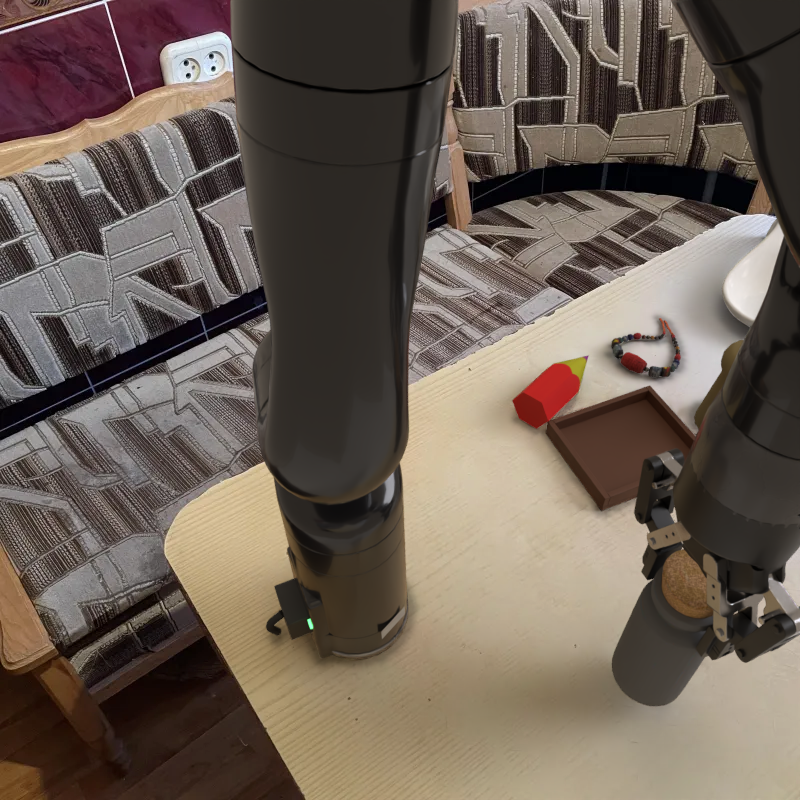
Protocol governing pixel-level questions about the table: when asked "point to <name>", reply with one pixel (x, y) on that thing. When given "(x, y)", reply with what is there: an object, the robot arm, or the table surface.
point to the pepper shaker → (718, 381)
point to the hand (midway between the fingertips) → (682, 609)
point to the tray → (617, 442)
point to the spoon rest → (752, 277)
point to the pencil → (550, 391)
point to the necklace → (639, 364)
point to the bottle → (664, 634)
